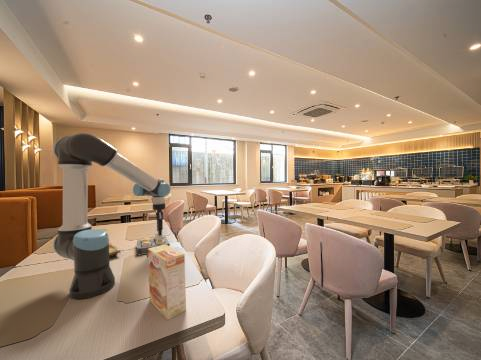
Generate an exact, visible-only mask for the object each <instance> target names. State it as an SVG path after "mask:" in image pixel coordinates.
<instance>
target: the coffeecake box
mask: <svg viewBox="0 0 481 360" xmlns="http://www.w3.org/2000/svg"><path fill="white" fill-rule="evenodd" d="M147 258H148V259H147V260H148V282H149V283H148V284H149V285H148V286H149V293H148V294H149V302H150V303H151V304H152V305H153V306H154V308H156V310H158V312H159V313H160V314H161V315H162V316H163V318H165V319H166V320H167V321H169V320H170V319H172V318H174V317H176V316H177V315H179V314H182V313H184V312H185V311H187V296H186V295H187V294H186V270H185V269H186V261H185V253H183V252H182V251H179V250H178V249H176V248H174V247H172V246H168V245H166V244H164V245H160V246H156V247H152V248H149V249H148V255H147Z"/></svg>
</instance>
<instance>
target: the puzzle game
mask: <svg viewBox="0 0 481 360" xmlns="http://www.w3.org/2000/svg"><path fill="white" fill-rule="evenodd" d="M121 252H122V251H121V249H120V248H118V247H117V246H115V245H114V244H113V243H112V242H109V258H111V257H115V256H117V255H118V254H121Z"/></svg>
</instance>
